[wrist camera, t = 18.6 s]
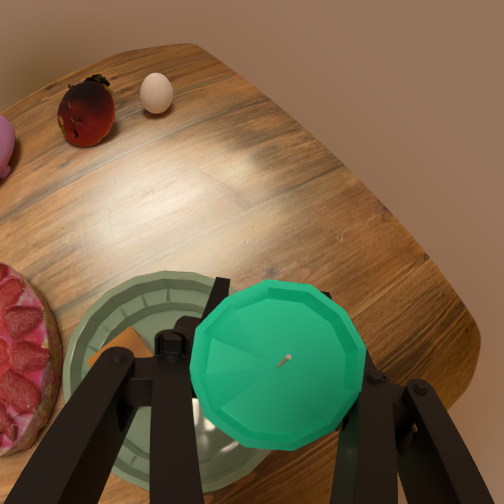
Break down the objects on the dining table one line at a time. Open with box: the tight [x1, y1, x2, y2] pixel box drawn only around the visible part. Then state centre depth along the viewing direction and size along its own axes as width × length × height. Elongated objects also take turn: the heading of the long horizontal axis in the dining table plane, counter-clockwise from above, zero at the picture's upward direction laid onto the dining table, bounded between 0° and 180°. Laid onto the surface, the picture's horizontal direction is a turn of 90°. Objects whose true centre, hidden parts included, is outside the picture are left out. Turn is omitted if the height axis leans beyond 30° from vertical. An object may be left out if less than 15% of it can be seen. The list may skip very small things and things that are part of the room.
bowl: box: [63, 271, 272, 493], centre depth 28 cm, size 21×21×6 cm
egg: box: [140, 73, 173, 114], centre depth 45 cm, size 5×5×8 cm
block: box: [87, 326, 155, 410], centre depth 27 cm, size 6×6×6 cm
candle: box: [189, 279, 366, 451], centre depth 14 cm, size 6×6×12 cm
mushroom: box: [57, 74, 116, 147], centre depth 45 cm, size 12×12×15 cm
